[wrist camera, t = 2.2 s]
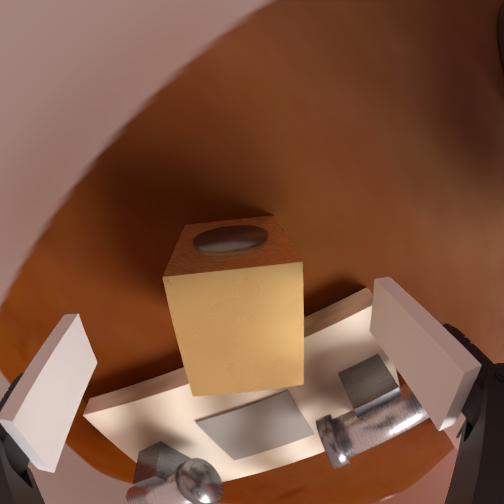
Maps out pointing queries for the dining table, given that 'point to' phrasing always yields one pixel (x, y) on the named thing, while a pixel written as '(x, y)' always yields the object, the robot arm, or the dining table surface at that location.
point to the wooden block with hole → (237, 306)
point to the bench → (247, 403)
